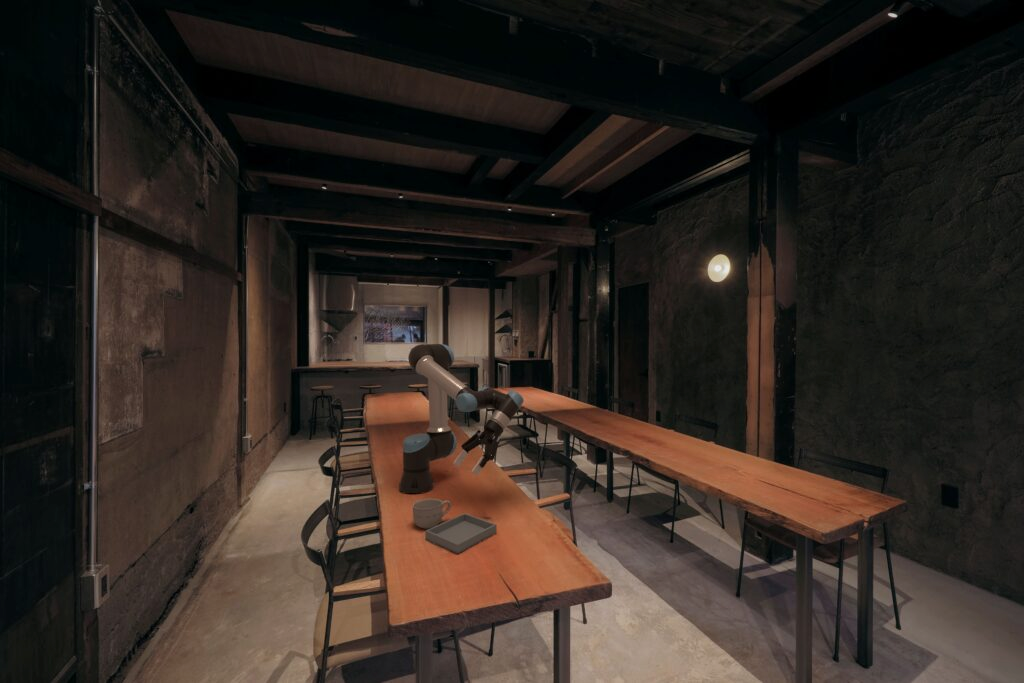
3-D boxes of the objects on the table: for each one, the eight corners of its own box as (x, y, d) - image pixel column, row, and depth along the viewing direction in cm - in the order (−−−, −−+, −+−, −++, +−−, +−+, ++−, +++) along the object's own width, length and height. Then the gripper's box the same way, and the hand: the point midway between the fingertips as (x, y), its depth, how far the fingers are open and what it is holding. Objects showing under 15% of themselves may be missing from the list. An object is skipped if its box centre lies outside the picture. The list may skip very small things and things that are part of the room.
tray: (425, 539, 139) (425, 530, 139) (464, 521, 154) (464, 513, 154) (457, 554, 130) (457, 544, 130) (496, 533, 144) (496, 524, 144)
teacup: (412, 533, 144) (412, 510, 144) (411, 520, 154) (411, 498, 154) (453, 528, 148) (453, 506, 148) (449, 516, 158) (449, 495, 158)
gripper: (521, 435, 159) (489, 483, 150) (484, 425, 179) (454, 467, 170) (509, 423, 156) (476, 471, 147) (474, 414, 176) (442, 456, 167)
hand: (464, 469), depth 158 cm, fingers open, 13 cm apart
